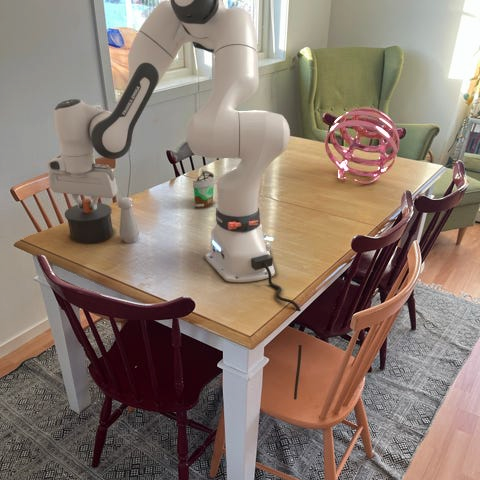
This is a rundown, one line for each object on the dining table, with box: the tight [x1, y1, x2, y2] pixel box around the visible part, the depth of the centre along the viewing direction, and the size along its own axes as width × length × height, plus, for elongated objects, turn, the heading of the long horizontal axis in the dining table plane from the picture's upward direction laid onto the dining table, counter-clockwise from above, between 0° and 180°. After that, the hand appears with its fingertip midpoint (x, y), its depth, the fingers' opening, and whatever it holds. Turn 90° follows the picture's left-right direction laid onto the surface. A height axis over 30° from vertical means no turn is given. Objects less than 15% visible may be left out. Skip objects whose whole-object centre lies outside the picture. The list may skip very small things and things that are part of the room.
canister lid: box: [64, 198, 113, 223], centre depth 144 cm, size 14×14×5 cm
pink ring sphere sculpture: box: [324, 107, 401, 186], centre depth 184 cm, size 28×28×27 cm
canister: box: [66, 214, 114, 244], centre depth 147 cm, size 13×13×7 cm
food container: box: [192, 169, 217, 209], centre depth 166 cm, size 12×6×10 cm, turn 168°
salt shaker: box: [117, 197, 140, 244], centre depth 142 cm, size 6×6×13 cm
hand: (87, 208), depth 144 cm, fingers closed on canister lid, 2 cm apart
